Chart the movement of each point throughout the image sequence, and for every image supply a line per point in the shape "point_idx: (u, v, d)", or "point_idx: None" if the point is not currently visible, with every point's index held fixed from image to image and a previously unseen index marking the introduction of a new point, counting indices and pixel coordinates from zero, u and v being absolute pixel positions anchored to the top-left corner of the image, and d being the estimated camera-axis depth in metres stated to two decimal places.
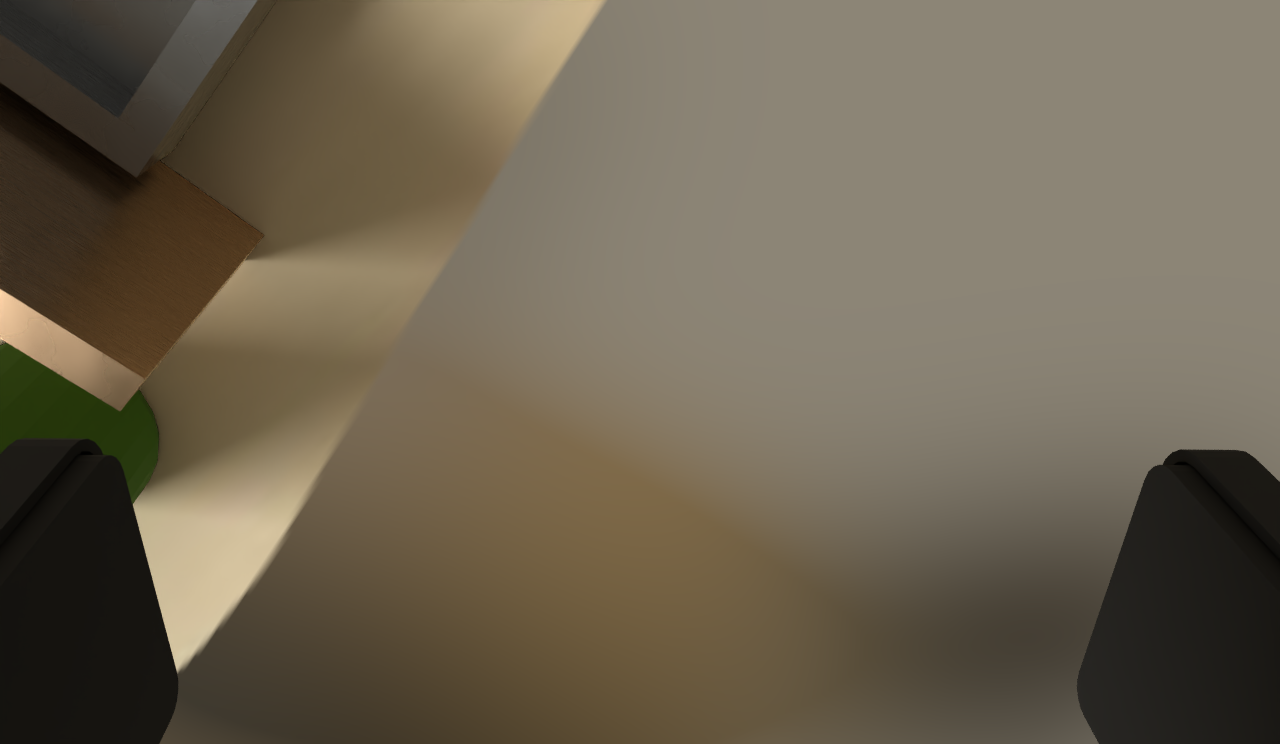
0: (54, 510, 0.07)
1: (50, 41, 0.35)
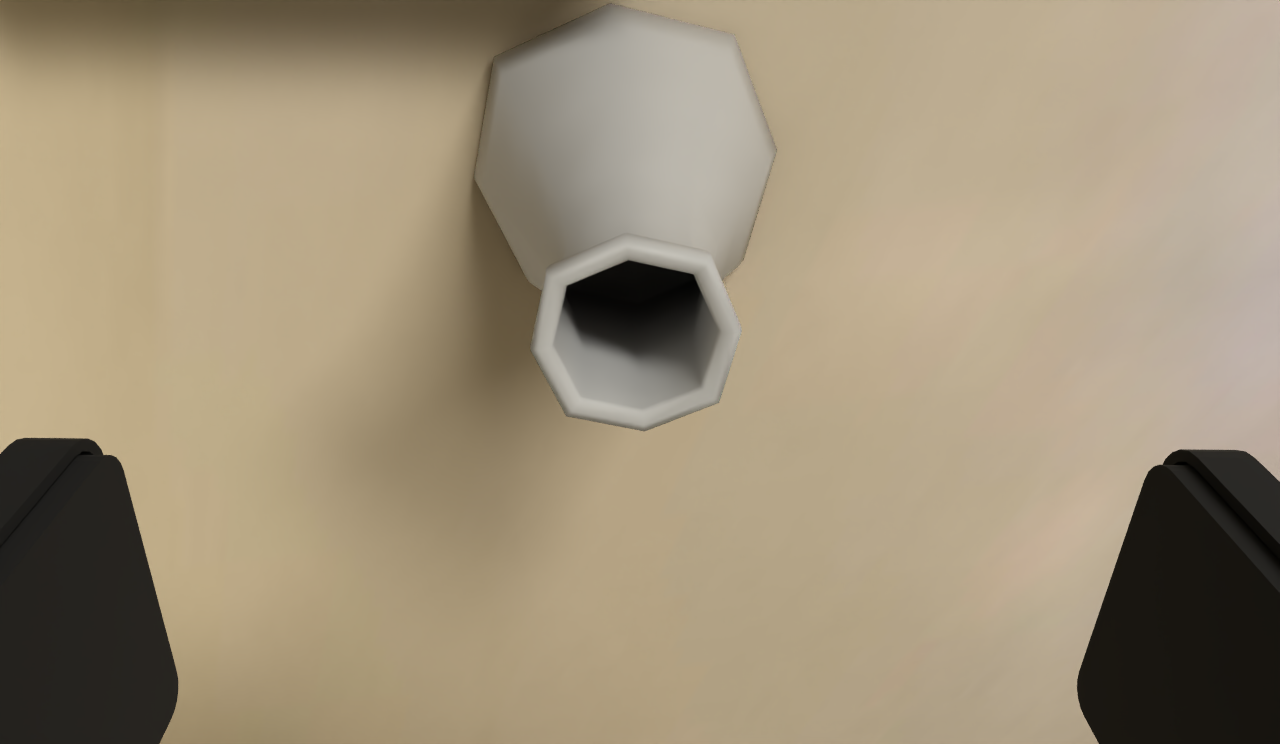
0: (54, 510, 0.07)
1: None
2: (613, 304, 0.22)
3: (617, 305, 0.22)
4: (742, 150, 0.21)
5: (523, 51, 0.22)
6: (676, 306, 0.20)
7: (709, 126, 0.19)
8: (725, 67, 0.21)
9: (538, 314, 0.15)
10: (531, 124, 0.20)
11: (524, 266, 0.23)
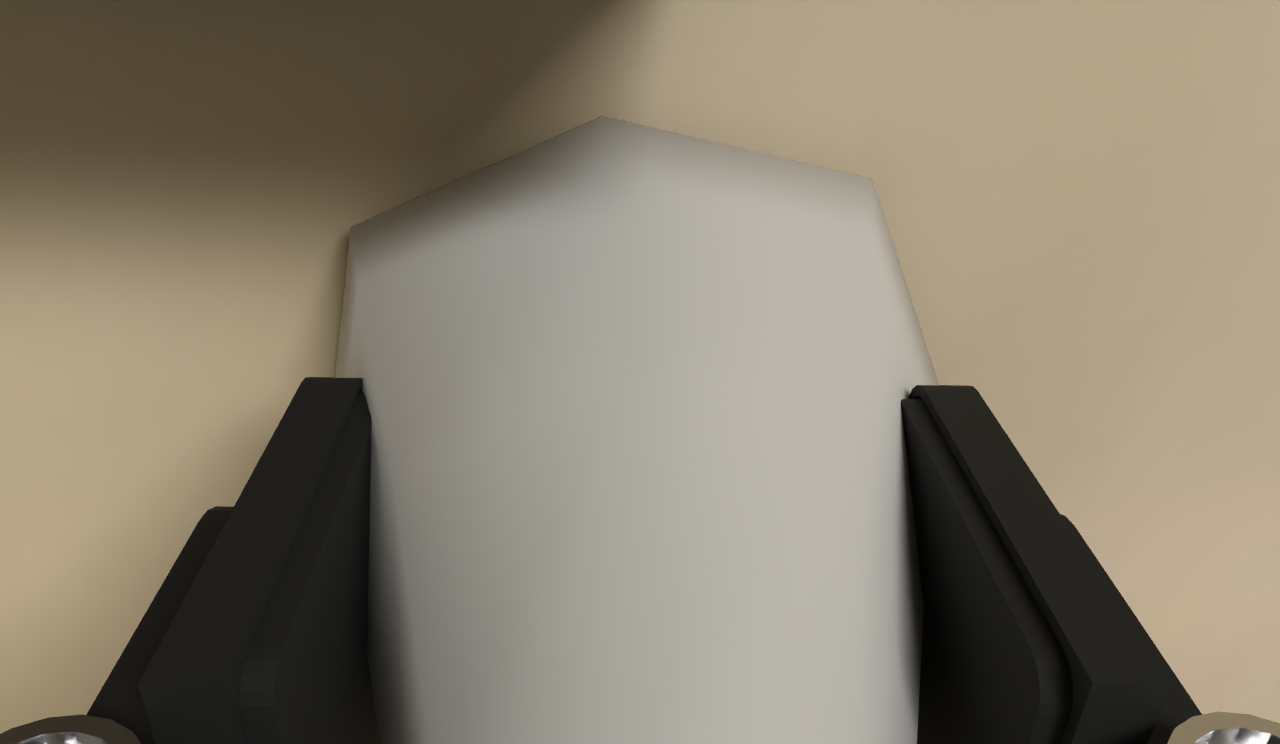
0: (358, 435, 0.08)
1: None
2: None
3: None
4: None
5: (410, 222, 0.10)
6: None
7: (858, 481, 0.07)
8: (869, 276, 0.09)
9: None
10: (403, 454, 0.08)
11: None
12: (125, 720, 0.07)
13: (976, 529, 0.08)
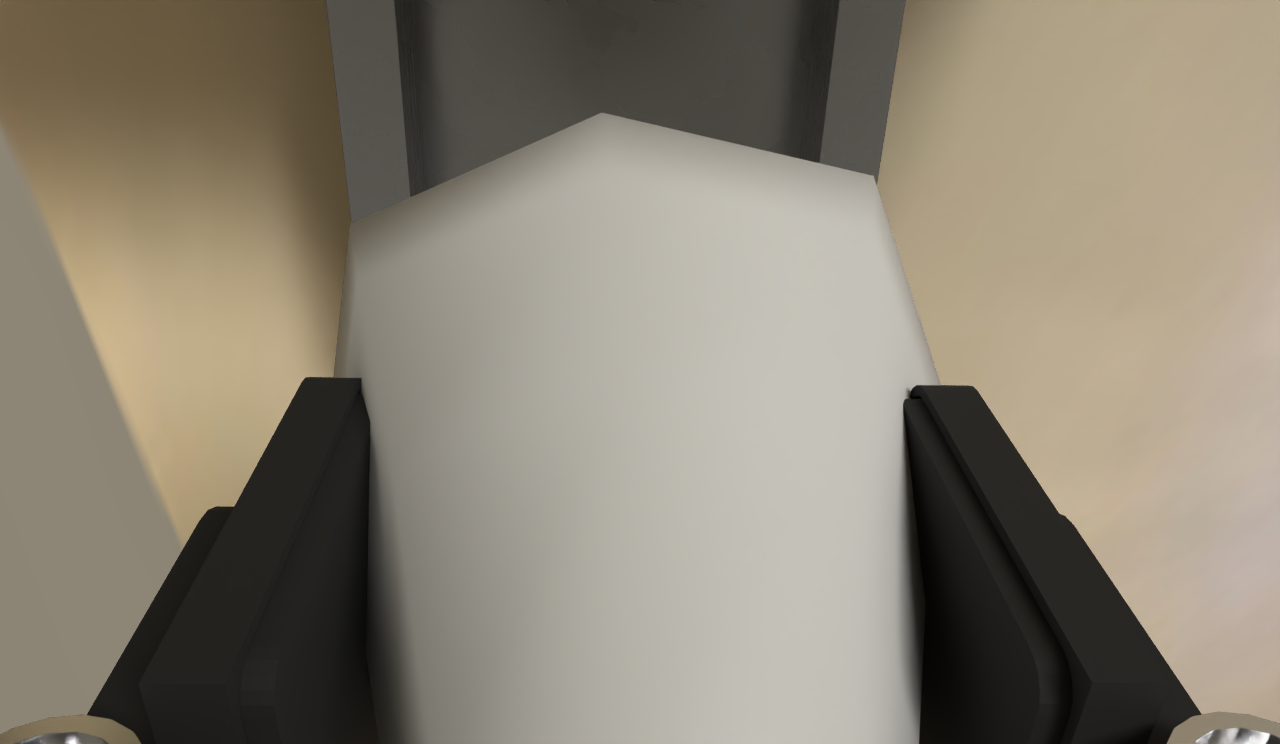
0: (358, 435, 0.08)
1: None
2: None
3: None
4: None
5: (409, 219, 0.10)
6: None
7: (860, 478, 0.07)
8: (870, 273, 0.09)
9: None
10: (403, 450, 0.08)
11: None
12: (125, 720, 0.07)
13: (976, 529, 0.08)
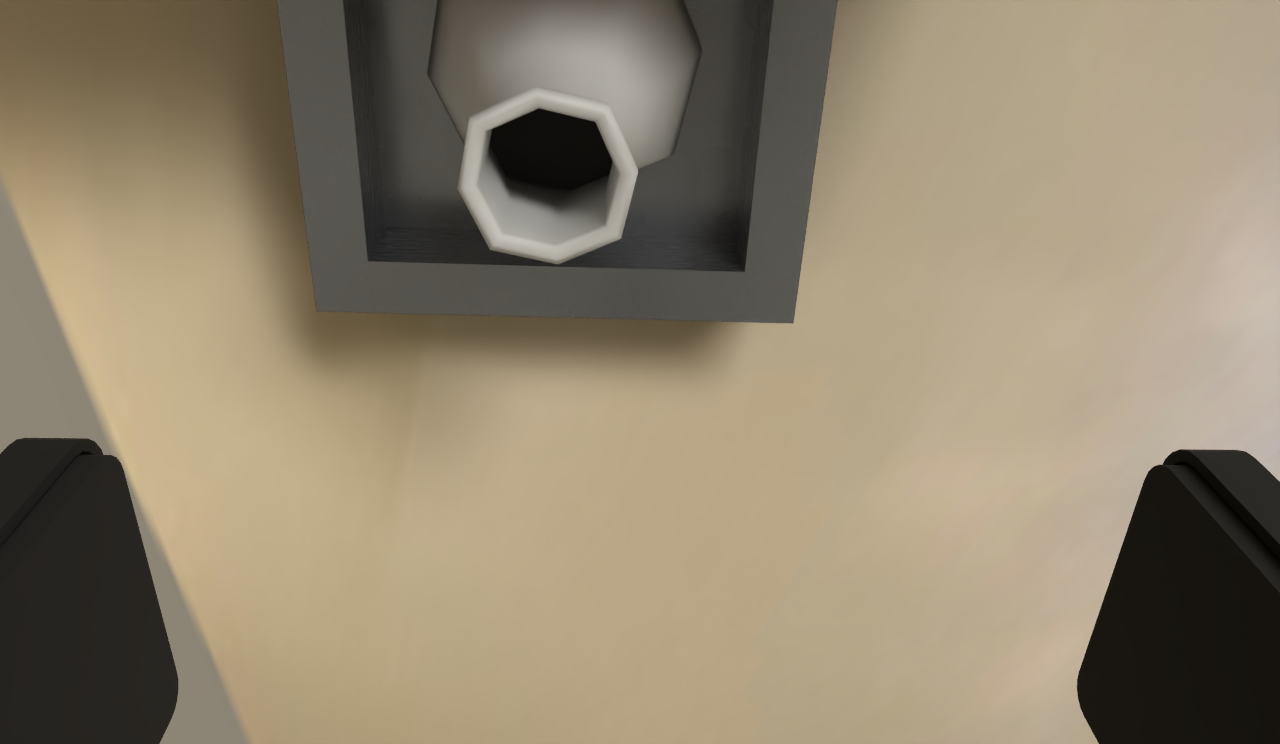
0: (54, 510, 0.07)
1: None
2: None
3: None
4: (664, 43, 0.23)
5: None
6: None
7: (629, 16, 0.22)
8: None
9: (463, 156, 0.17)
10: (472, 14, 0.22)
11: None
12: None
13: None
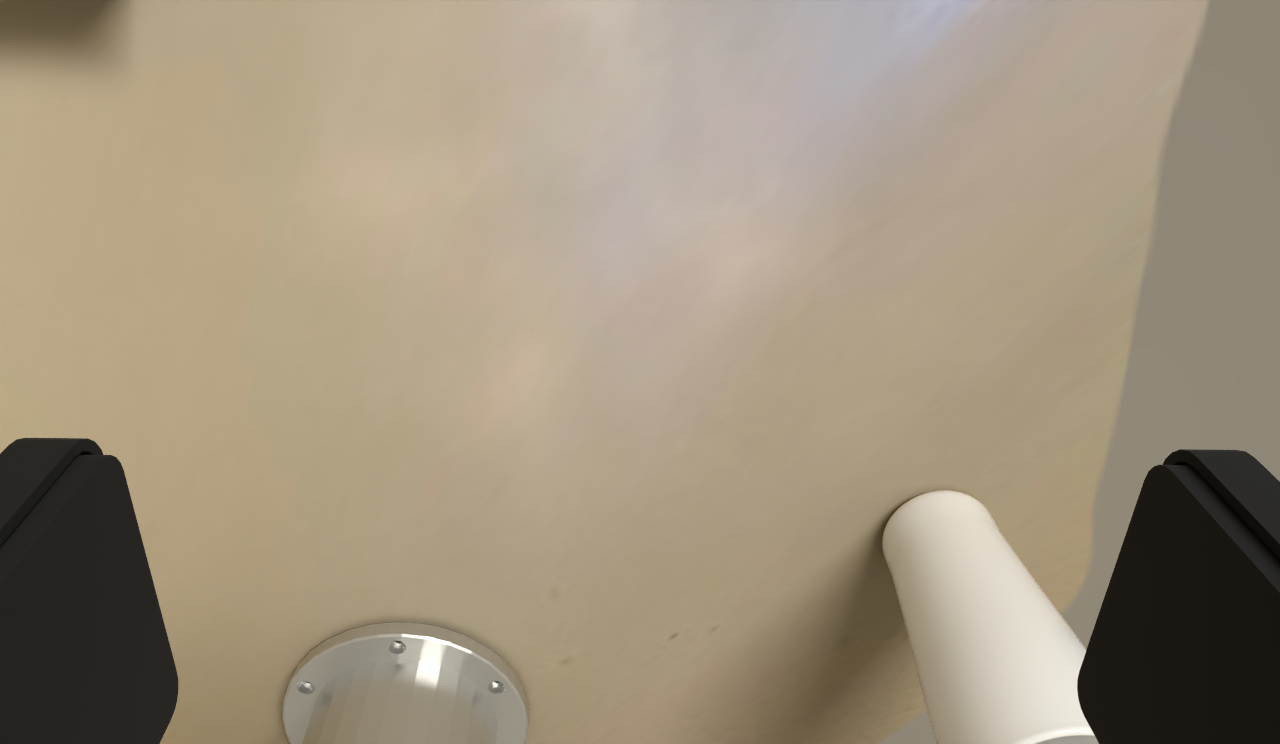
0: (54, 510, 0.07)
1: None
2: None
3: None
4: None
5: None
6: None
7: None
8: None
9: None
10: None
11: None
12: None
13: None
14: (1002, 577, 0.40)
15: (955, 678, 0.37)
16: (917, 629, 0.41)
